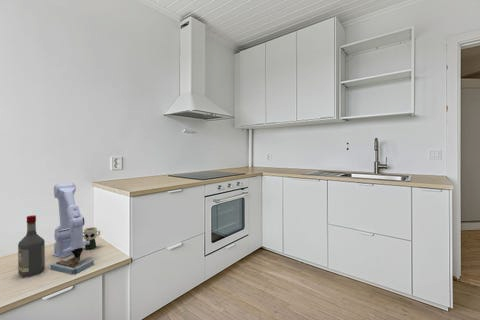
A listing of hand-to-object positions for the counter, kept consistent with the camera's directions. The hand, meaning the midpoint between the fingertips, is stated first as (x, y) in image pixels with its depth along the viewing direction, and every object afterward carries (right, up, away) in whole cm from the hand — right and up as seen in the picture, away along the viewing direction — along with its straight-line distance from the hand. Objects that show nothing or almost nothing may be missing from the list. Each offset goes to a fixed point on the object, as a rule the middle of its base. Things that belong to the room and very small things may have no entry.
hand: (77, 261), depth 132 cm
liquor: (-16, -1, -11) cm, 19 cm away
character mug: (-5, -1, +20) cm, 21 cm away
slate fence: (+1, -1, -4) cm, 5 cm away
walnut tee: (-1, -1, -4) cm, 4 cm away
